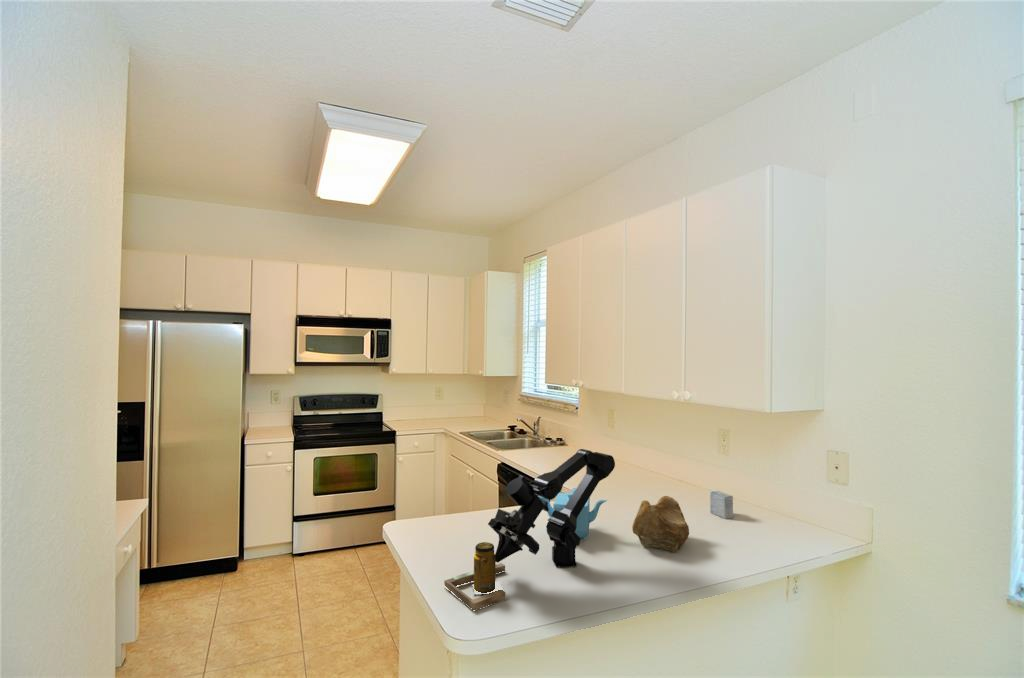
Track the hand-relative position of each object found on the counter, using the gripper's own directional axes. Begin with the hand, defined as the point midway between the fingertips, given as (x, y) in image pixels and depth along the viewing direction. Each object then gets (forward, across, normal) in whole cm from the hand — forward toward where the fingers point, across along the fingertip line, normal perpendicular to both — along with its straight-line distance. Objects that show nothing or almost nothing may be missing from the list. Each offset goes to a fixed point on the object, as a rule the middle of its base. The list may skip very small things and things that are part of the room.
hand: (495, 561), depth 142 cm
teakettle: (-27, -17, +37) cm, 49 cm away
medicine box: (-72, +4, +80) cm, 107 cm away
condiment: (+7, 0, +4) cm, 8 cm away
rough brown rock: (-40, +10, +49) cm, 64 cm away
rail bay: (+7, 0, +3) cm, 7 cm away
